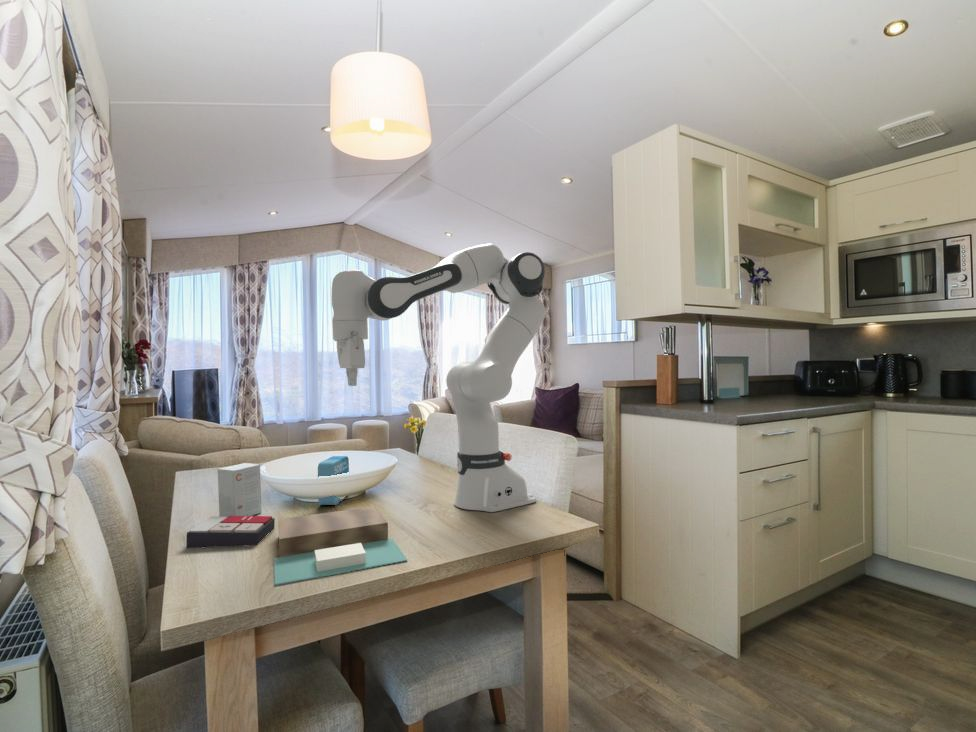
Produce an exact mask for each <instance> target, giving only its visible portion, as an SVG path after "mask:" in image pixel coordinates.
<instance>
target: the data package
mask: <svg viewBox="0 0 976 732" xmlns="http://www.w3.org/2000/svg"><path fill="white" fill-rule="evenodd" d="M349 463H350V462H349V457H348V456H347V455H332V456H330V457H328V458H326V459H324V460H323V461H320V462H319V463H318V466H317V478H318V477H319V476H331V475H337V474H342V473H347V472H349V473H350V467H349V465H350V464H349ZM317 499H318V505H319V506H321V505H335V506H337V505H338V504H340V503H341V502H342V501H343V500H342V499H340V498H338V497H336V496H334V495H333V496H329V497H325V498H318V497H317ZM340 501H341V502H340ZM339 502H340V503H339Z"/></svg>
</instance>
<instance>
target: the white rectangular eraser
mask: <svg viewBox="0 0 976 732" xmlns="http://www.w3.org/2000/svg"><path fill="white" fill-rule="evenodd" d="M364 563H366V552H365V550H364V548H363V546H362V544H361V543H356V544H350V545H344V546H338V547H332V548H325V549H319V550H315V564H316V569H317V572H319V571H325V570H330V569H336V568H342V567H347V566H353V565H358V564H364Z"/></svg>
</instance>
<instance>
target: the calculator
mask: <svg viewBox="0 0 976 732" xmlns="http://www.w3.org/2000/svg"><path fill="white" fill-rule="evenodd" d="M275 521H276V520H275V518H274V517H273V516H272V515H267V516H266V515H265V516H262V515H253V516H229V517H219V516H211V517H209V518H207V519H206V520H204V521H203V522H201V523H199V524H198V525H196V526H195V527H193V528H192V529H190V530H189V531H188V532H186V546H185V548H186V549H200V548H202V547H206V548H208V547H214V546H226V547H240V546H241V547H243V546H244V545H250V546H257V545H259V544H260V543H261V542H262V541H263V540H264V539H265V538H266V537H267V536H268V535H269V534H271V533H272V532H273V531H274V530H275ZM273 529H274V530H273ZM272 530H273V531H272ZM271 531H272V532H271ZM268 533H269V534H268ZM267 534H268V535H267ZM266 535H267V536H266ZM265 536H266V537H265ZM264 537H265V538H264ZM263 538H264V539H263ZM262 539H263V540H262ZM261 540H262V541H261ZM260 541H261V542H260ZM259 542H260V543H259ZM258 543H259V544H258ZM244 547H245V546H244ZM202 549H203V548H202Z"/></svg>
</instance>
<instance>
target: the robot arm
mask: <svg viewBox="0 0 976 732" xmlns="http://www.w3.org/2000/svg"><path fill="white" fill-rule="evenodd" d="M545 270H546V269H545V265H544V262H543V260H542V259H541V257H539V256H538V255H537V254H536V253H533V252H531V251H530V252H527V251H525V252H521V253H518V254H516V255H514V256H513V257H512V258H511V259H510V260H509V259H507V258H506V257H504V254H503V252H502V251H501V249H500V248H499V247H498V246H497V245H495V244H493V243H485V244H478V245H474V246H470V247H467V248H464V249H461V250H459V251H458V250H457V251H456V252H453V253H452V254H450V255H448V256H446V257H445V258H443V259H442V260H440V261H439V263H437V264H436V265H435V266H434V267H431V268H429V269H427V270H424V271H420V272H418V273H415V274H412V275H410V276H405V277H396V276H395V277H393V276H386V277H385V276H384V277H381V278H379V279H374V278H372V277H371V276H369V275H367V273H364V272H363V270H361V269H349V270H343V271H340V272H338V273H337V274H336V275H334V277H333V278H332V282H331V306H332V310H333V317H332V320H331V321H332V325H331V326H332V339H333V341H334V342H336V352H337V361H338V364H339V368H340V369H345V373H346V378H347V385H348V386H349V387H355V386H356V387H357V385H358V383H357V382H358V380H357V378H358V374H359V373H358V372H359V371H358V369H364V368H366V355H365V354H366V352H365V342H364V341H365V340H368V339H369V330H368V329H369V327H368V320H369V319H375V320H376V321H377V320H378V321H389V320H391V319H394V318H398V317H399V316H401V315H403V314H404V313H405V312H406V311H407V310H408V308H409V307H411V306H412V304H414V303H416V302H417V301H419V300H422V299H424V298H426V297H429V296H432V295H434V294H436V293H441V292H449V293H451V294H457V293H461V292H464V291H465V292H466V291H468V290H472V289H474V288H477V287H479V286H481V285H485V284H487V287H488V288H489V289H490V291H491V292H492V294H493V296H494V297H495V298H496V300H497V301H498V302H500V303H502V304H504V305H508V306H507V308H506V309H505V311H504V313H503V314H502V315H501V317H499V319H498V320H497V322H496V323H495V324H494V325H493V327H492V329H491V330H490V331H489V332H488V333H487V335H486V336H485V338H484V345H483V348H482V351H481V352H480V354H479V356H478V357H477V359H475V360H474V361H463V362H460V363H458V364H456V365H455V366H453V367H451V368H450V370H449V371H448V373H447V375H446V378H445V379H446V380H445V382H446V387H447V389H448V391H449V393H450V395H451V397H452V398H451V399H452V402H453V407H454V411H455V412H454V413H455V415H456V422H457V431H458V432H457V433H458V434H457V435H458V436H457V437H458V452H457V455H456V456H457V457H456V458H457V459H456V467H457V473H458V477H457V486H456V487H457V488H456V493H455V498H454V502H453V505H454V506H455V507H457V508H460V509H463V510H469V511H483V512H489V513H495V512H500V511H505V510H509V509H512V508H516V507H517V508H518V507H521V506H525V505H530V504H533V503H535V502H536V497H535V495H534V494H533V493H531V492H529V491H528V488H527V483H526V481H525V478H524V477H523V476H522V475H521V474H520V473H518V472H517V471H515V470H514V469H513V468H511V467H510V466H508V464H506V461H507V462H510V461H511V460H512V459H513V456H512V454H511V453H508V452H503V451H501V450H500V445H499V443H500V441H499V423H498V420H497V419H496V417H495V415H494V413H493V409H492V405H491V403H494V402H497V401H501V400H503V399H506V397H507V396H508V395H509V394H510V392H511V389H512V386H513V380H512V379H513V378H512V374H513V372H514V369H515V367H516V364H517V362H518V361H519V360H520V357H521V355H523V353H524V352H525V350H526V349H527V348H528V346H529V344H530V343H531V342H532V340H533V339H534V337H535V335H536V334H537V333H538V331H539V329H540V328H541V326H542V324H543V322H544V319H545V316H546V307H545V305H544V303H543V302H542V301H541V300H540V298H539V297H538V295H539V294H541V293H542V291H543V285H544V282H543V281H544V279H545V274H546V273H545V272H546V271H545Z"/></svg>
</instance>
